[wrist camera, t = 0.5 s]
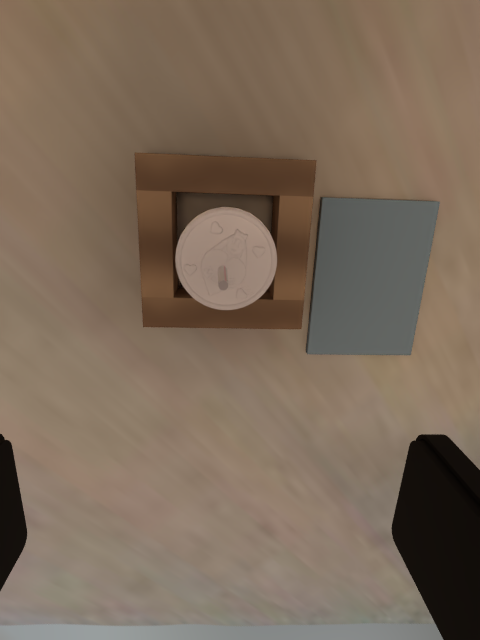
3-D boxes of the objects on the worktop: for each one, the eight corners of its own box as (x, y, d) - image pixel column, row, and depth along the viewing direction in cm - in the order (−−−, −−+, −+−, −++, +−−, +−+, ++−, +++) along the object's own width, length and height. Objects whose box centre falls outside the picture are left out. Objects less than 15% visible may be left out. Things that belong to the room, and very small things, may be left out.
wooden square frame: (144, 157, 30) (134, 152, 26) (305, 164, 31) (316, 160, 27) (150, 314, 34) (143, 326, 30) (293, 316, 35) (301, 329, 31)
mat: (320, 197, 31) (322, 197, 31) (436, 201, 32) (439, 201, 31) (305, 351, 36) (307, 354, 35) (407, 352, 36) (410, 355, 36)
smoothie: (174, 258, 32) (143, 302, 19) (207, 189, 31) (199, 184, 17) (239, 291, 34) (253, 354, 20) (275, 226, 32) (315, 248, 19)
